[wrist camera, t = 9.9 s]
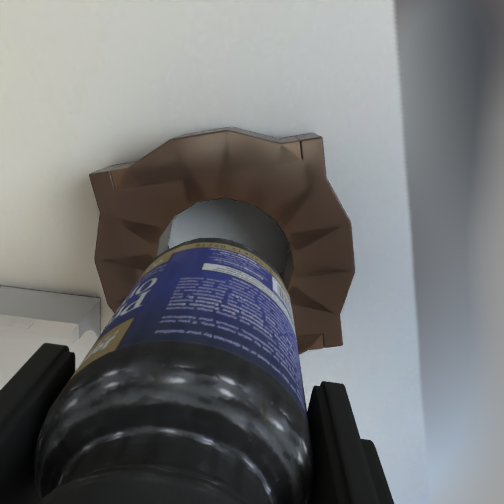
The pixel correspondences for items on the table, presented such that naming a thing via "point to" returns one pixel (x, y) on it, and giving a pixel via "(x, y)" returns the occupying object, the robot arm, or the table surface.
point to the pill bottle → (186, 392)
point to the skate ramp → (44, 325)
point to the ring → (241, 189)
